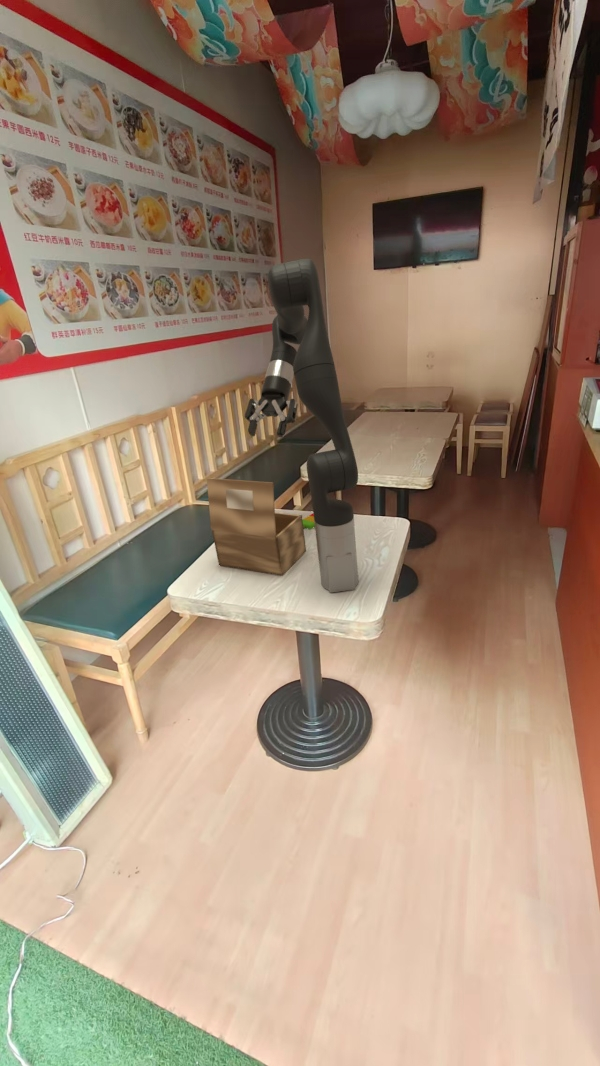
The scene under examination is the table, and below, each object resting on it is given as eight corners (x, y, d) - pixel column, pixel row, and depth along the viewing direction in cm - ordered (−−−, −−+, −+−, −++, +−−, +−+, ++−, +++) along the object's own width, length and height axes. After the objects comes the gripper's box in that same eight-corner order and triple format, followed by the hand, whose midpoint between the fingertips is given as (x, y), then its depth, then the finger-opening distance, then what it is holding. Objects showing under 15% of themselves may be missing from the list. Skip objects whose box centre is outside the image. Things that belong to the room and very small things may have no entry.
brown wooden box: (246, 543, 154) (240, 509, 149) (306, 551, 145) (301, 515, 140) (219, 565, 143) (211, 529, 138) (282, 575, 134) (276, 537, 129)
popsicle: (329, 519, 163) (328, 514, 163) (298, 538, 154) (297, 532, 153) (316, 516, 167) (315, 511, 166) (284, 534, 157) (284, 529, 156)
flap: (207, 478, 134) (206, 478, 133) (273, 482, 125) (272, 483, 124) (212, 529, 138) (210, 529, 137) (276, 537, 129) (274, 537, 128)
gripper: (249, 374, 142) (236, 428, 138) (296, 373, 136) (283, 430, 133) (261, 388, 149) (248, 440, 145) (306, 388, 143) (294, 442, 139)
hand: (265, 435), depth 139 cm, fingers open, 8 cm apart
